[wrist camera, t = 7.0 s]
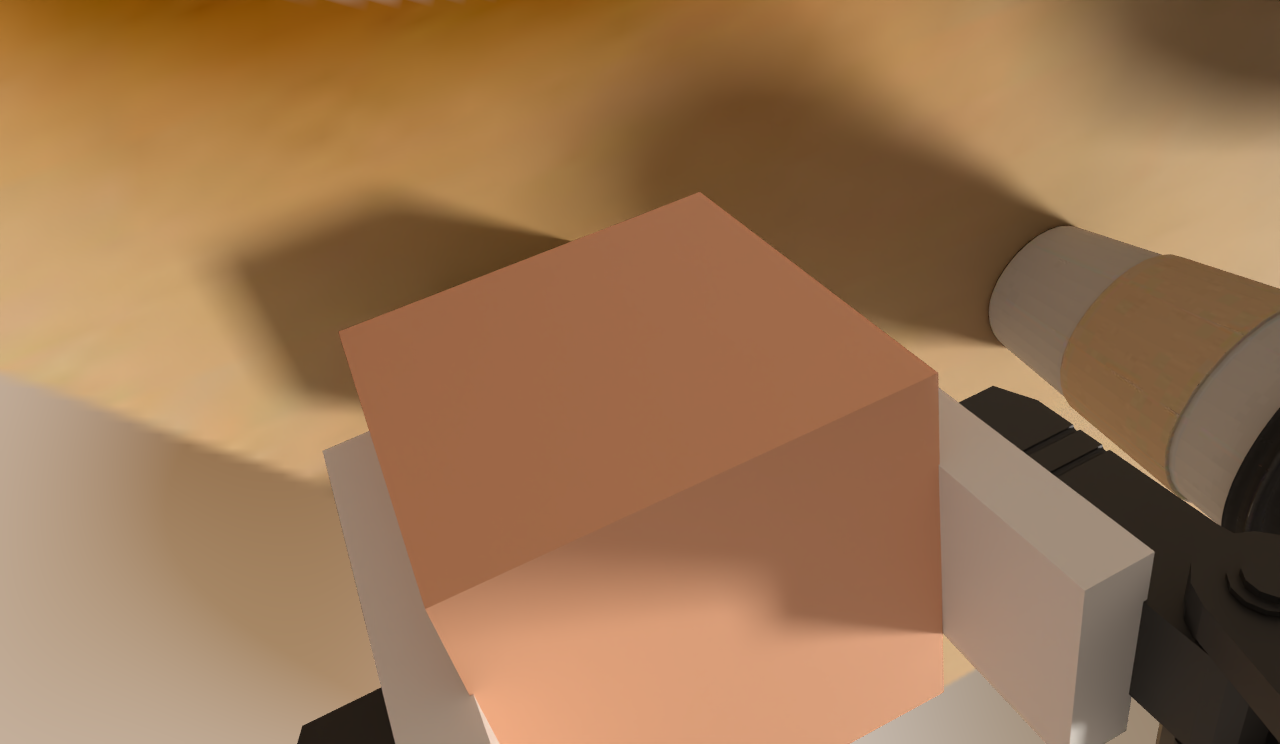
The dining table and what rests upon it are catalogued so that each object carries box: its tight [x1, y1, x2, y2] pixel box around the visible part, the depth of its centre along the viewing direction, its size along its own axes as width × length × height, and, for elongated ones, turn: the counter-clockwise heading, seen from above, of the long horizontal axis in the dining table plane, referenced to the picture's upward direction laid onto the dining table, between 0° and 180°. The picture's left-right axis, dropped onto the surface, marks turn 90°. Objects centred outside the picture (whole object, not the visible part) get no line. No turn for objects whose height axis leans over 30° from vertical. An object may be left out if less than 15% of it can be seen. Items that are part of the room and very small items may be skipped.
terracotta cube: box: [339, 192, 944, 744], centre depth 12 cm, size 5×5×5 cm
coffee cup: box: [989, 226, 1280, 535], centre depth 35 cm, size 9×9×15 cm
